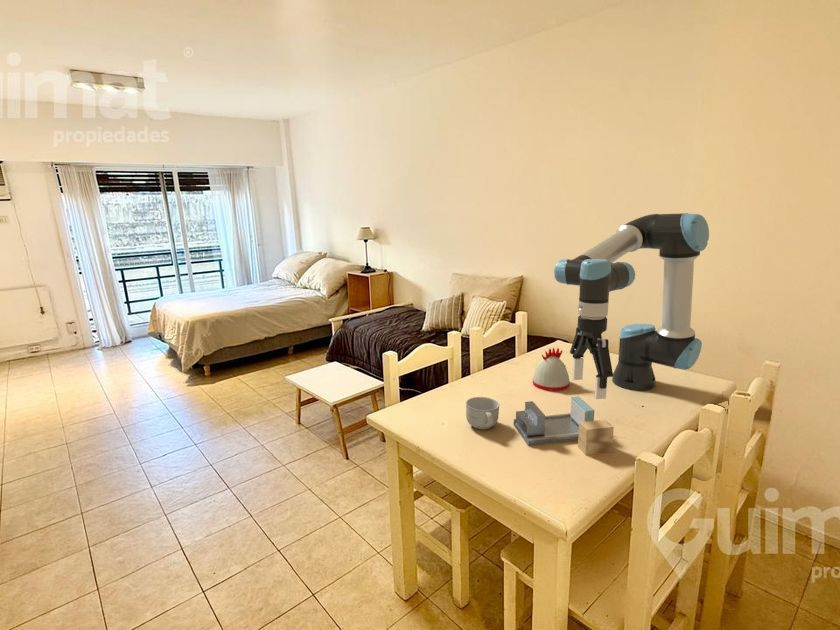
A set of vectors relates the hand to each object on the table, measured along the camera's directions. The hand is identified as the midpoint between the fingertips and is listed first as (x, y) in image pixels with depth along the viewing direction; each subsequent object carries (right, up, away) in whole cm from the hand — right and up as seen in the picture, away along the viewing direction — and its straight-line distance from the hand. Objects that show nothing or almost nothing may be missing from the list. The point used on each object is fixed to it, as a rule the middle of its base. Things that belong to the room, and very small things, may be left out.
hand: (588, 388), depth 124 cm
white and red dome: (+4, -7, +48) cm, 49 cm away
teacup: (-27, -16, +17) cm, 36 cm away
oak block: (+3, -18, +2) cm, 18 cm away
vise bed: (-5, -16, +13) cm, 21 cm away
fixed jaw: (-14, -15, +12) cm, 23 cm away
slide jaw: (+3, -13, +13) cm, 19 cm away
